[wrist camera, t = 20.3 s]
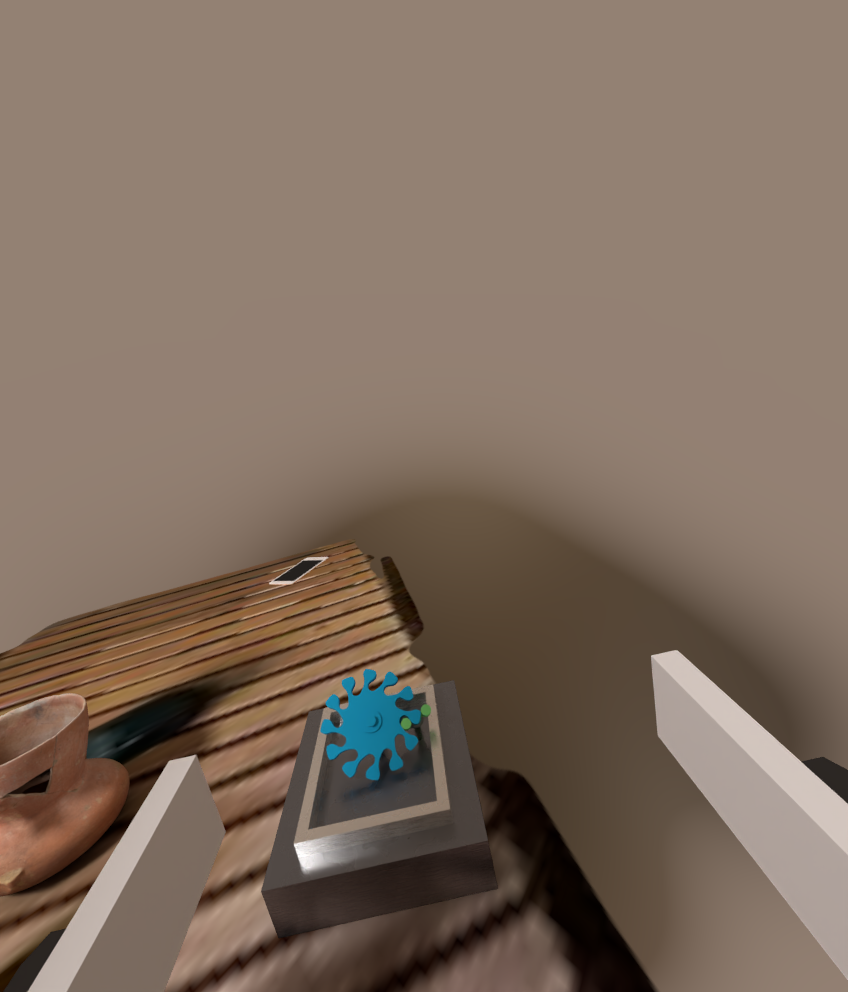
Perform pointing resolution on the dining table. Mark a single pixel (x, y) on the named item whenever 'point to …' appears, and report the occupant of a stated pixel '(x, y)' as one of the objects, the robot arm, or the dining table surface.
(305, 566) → the cell phone
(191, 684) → the dining table surface
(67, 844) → the ceramic jug
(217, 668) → the dining table surface
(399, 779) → the grey open tray
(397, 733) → the gear
